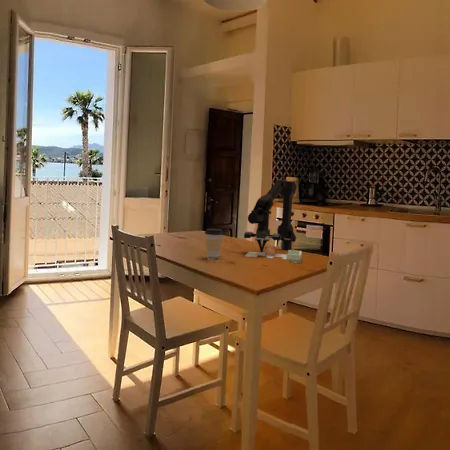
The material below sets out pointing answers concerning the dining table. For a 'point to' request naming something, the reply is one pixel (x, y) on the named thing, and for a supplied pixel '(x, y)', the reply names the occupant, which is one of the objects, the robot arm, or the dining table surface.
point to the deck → (281, 255)
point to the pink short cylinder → (269, 251)
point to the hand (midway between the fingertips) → (261, 252)
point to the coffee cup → (213, 243)
